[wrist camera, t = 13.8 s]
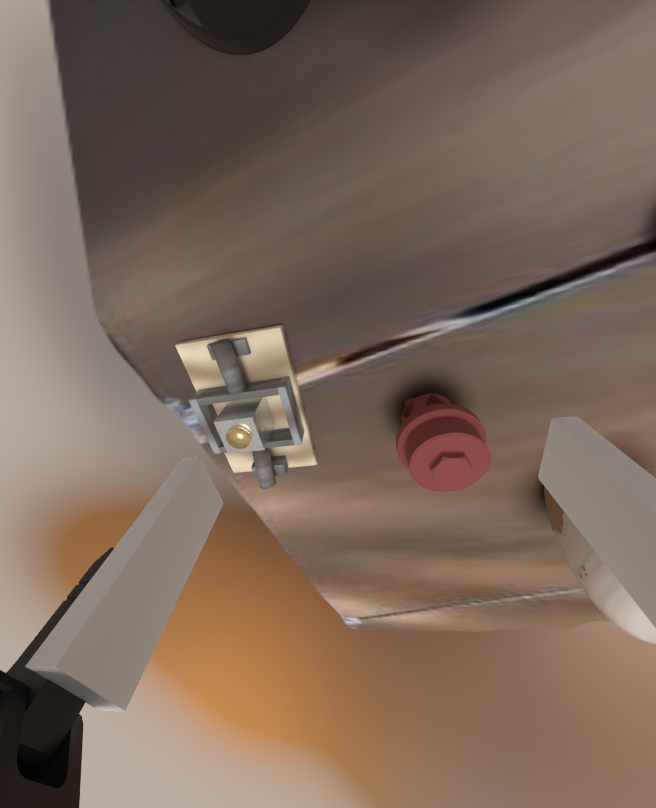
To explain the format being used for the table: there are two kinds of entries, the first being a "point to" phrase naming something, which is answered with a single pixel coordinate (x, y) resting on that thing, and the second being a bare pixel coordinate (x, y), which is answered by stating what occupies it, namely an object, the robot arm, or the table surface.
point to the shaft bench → (251, 396)
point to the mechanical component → (442, 443)
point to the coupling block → (245, 425)
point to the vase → (597, 576)
